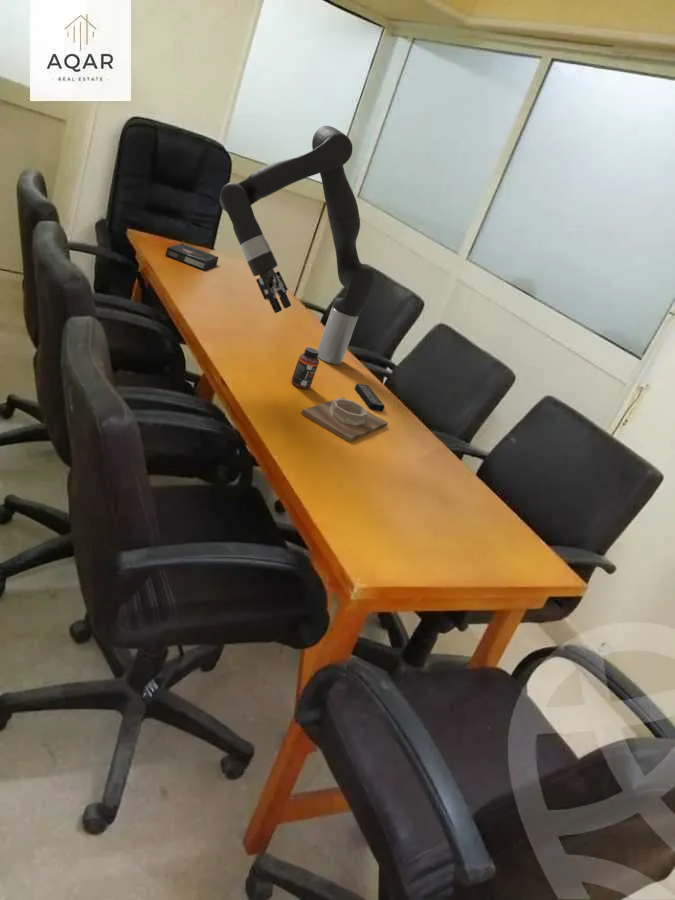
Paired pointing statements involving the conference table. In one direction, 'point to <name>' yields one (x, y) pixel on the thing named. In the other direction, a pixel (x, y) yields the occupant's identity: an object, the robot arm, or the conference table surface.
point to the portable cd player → (192, 256)
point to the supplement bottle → (305, 368)
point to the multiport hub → (369, 397)
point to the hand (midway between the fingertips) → (283, 309)
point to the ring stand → (345, 418)
